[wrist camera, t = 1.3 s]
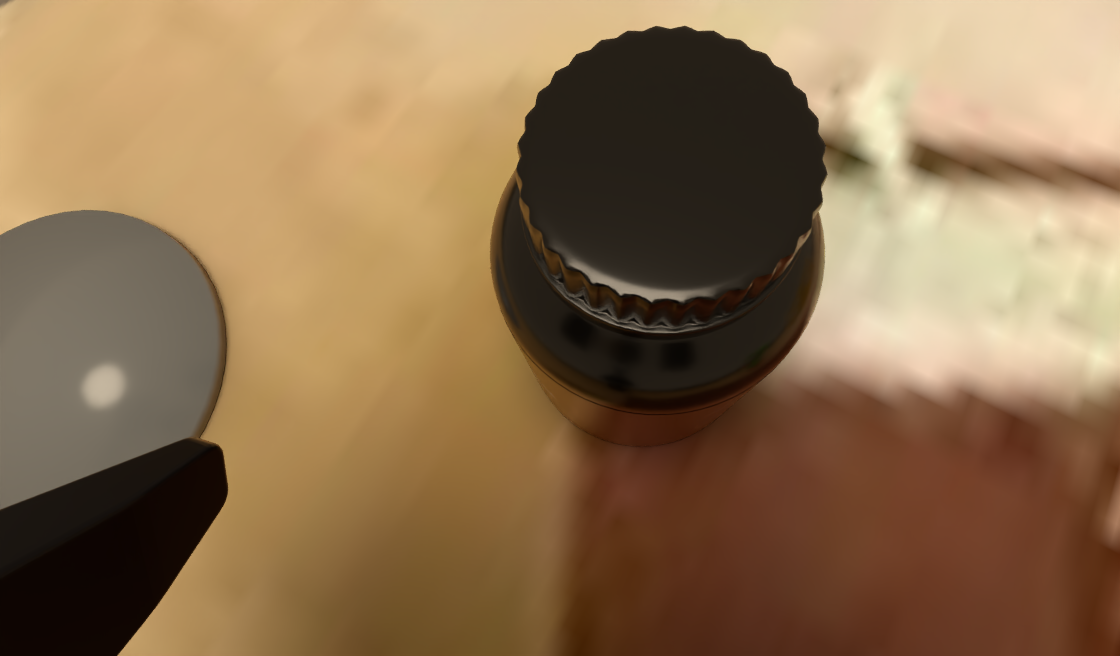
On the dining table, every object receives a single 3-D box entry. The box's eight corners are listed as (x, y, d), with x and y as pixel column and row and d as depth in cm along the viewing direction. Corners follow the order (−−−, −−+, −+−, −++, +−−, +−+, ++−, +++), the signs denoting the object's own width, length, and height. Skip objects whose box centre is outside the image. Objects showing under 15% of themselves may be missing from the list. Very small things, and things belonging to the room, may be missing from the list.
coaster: (225, 514, 22) (215, 514, 21) (-112, 561, 22) (-131, 562, 21) (226, 195, 25) (217, 187, 24) (-70, 242, 25) (-87, 236, 24)
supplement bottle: (490, 374, 22) (355, 214, 11) (606, 207, 23) (597, -98, 12) (676, 497, 21) (752, 466, 9) (789, 312, 22) (982, 80, 10)
